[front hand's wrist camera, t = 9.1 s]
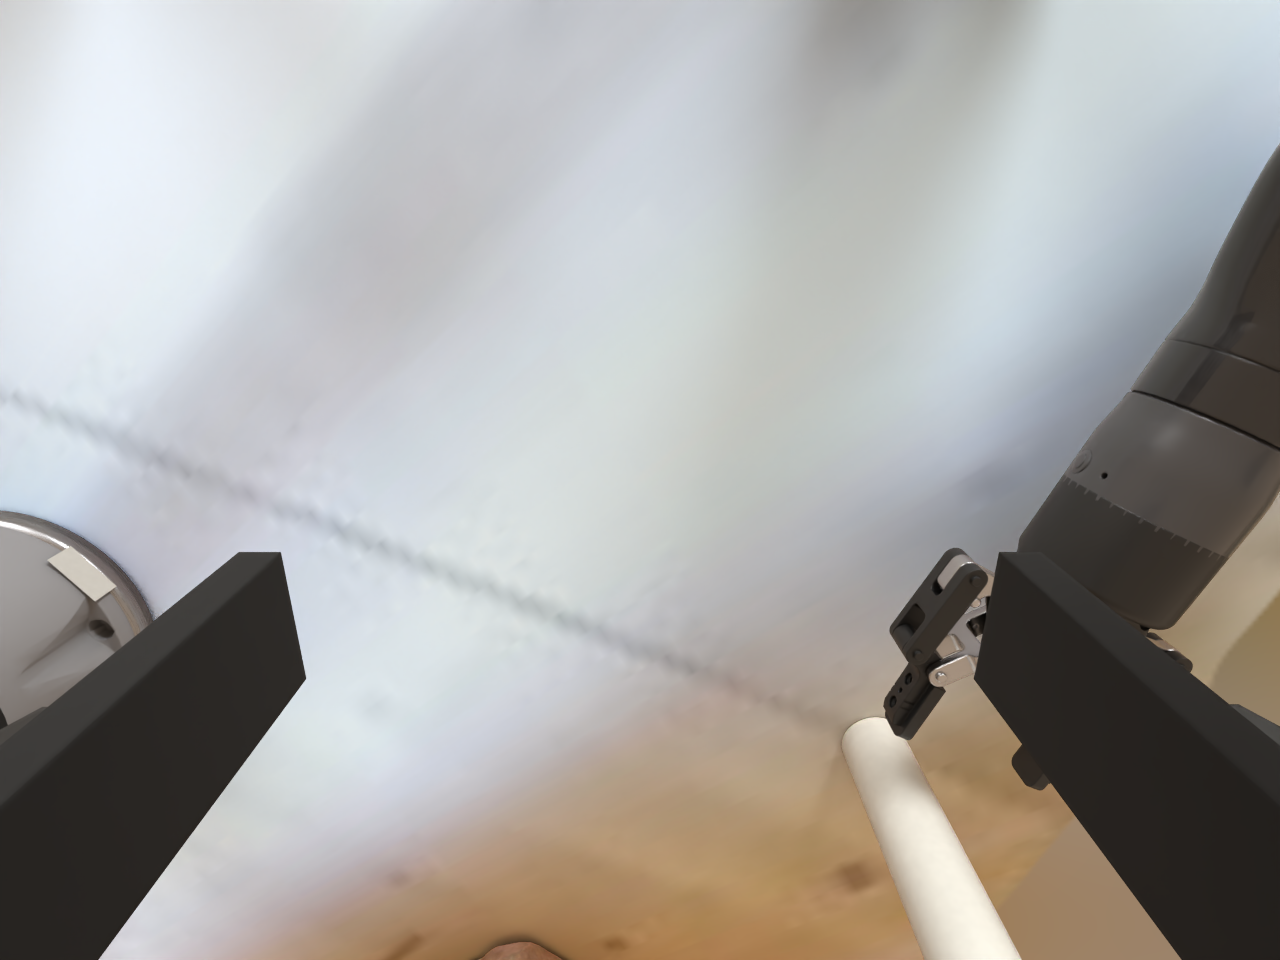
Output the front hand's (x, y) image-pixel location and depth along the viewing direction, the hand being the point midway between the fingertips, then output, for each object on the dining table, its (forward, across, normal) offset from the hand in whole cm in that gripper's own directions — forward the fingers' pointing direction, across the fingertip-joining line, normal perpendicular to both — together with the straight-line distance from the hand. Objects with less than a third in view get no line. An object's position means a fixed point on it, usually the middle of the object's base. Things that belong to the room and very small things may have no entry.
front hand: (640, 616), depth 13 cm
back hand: (+20, +18, -21) cm, 34 cm away
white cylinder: (+26, +15, -25) cm, 39 cm away
